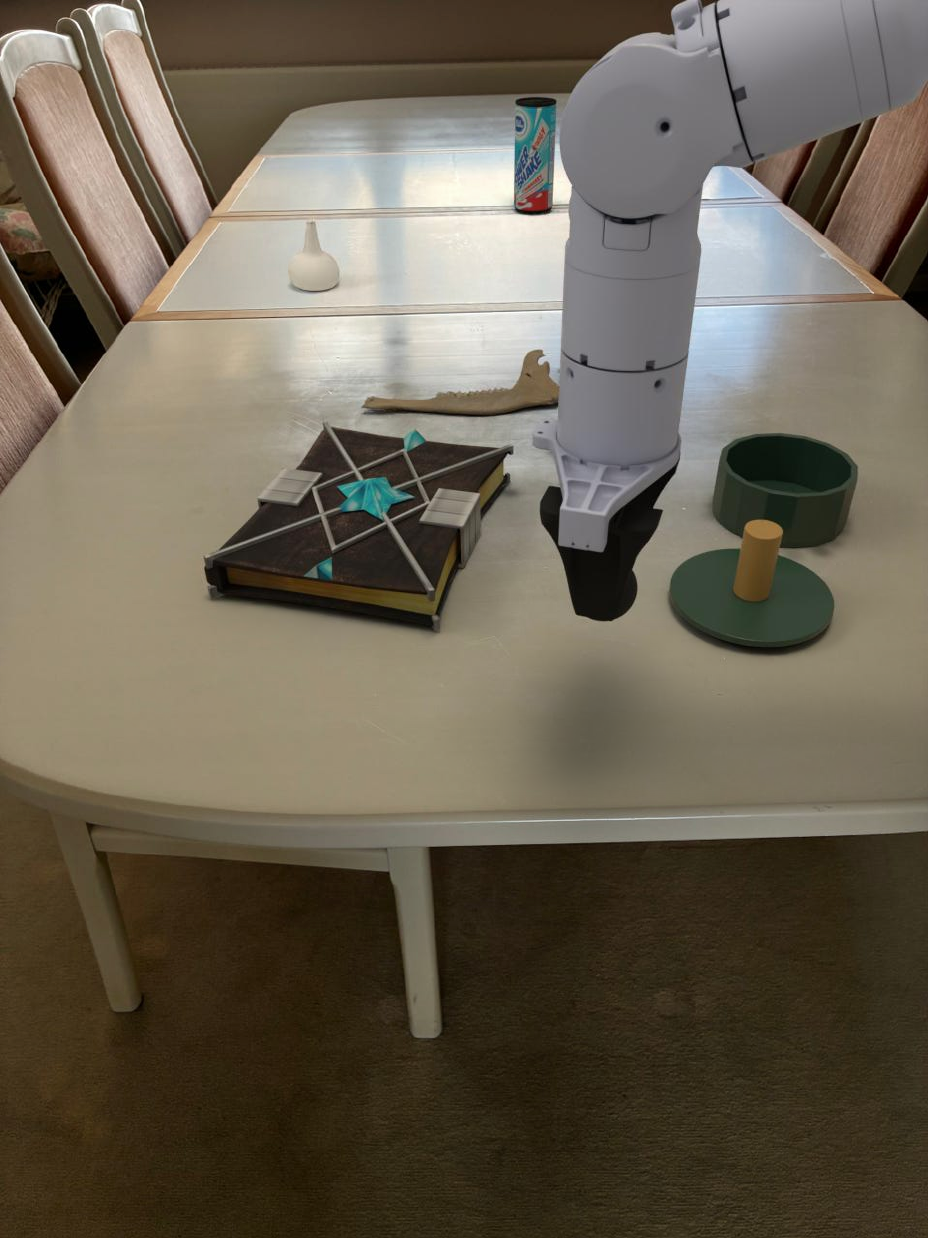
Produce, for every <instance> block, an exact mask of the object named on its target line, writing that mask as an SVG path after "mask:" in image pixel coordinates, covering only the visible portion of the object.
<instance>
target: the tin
mask: <svg viewBox="0 0 928 1238" xmlns="http://www.w3.org/2000/svg"><path fill="white" fill-rule="evenodd" d="M858 479H859V466H858V464H857V463H856V462H855V461H854V460H853V458H852V457H851V456H850V455H849V454H848V453H846V452H845V451H844V450H842V449H840V448H838V447H837V446H834V445H833V444H831V443H829V442H826V441H823V440H819V439H816V438H812V437H809V436H806V435H799V434H792V433H785V432H769V433H753V434H749V435H746V436H743V437H742V436H741V437H739V438H738V437H737V438H735V439H733V440H731V442H729V443H728V444H726V445H725V446H724V447H722V448H721V452H720V456H719V460H718V466H717V472H716V478H715V485H714V491H713V496H712V503H711V504H712V506H711V507H712V513H713V515H714V518H715V519H716V520H717V521H718V522H719V523H720V525H721V526H722V527H724V528H725V529H726V530H728V531H729V532H731V533H733V534H735V535H736V536H738V537H740V538H743V533H744V528H745V525H746V524H747V523H748V522H750V521H753V520H768V521H771V522H774V523H776V524H778V525H779V526H780V527H781V528H782V530H783V535H782V539H781V544H780V548H793V549H795V548H807V547H815V546H819V545H822V544H826V543H828V542H830V541H832V540H834V539H835V538H836V537H838V536H839V535H840V534H841V533H842V531H843V529H844V527H846V524H847V521H848V517H849V513H850V509H851V506H852V502H853V498H854V495H855V490H856V486H857V483H858Z"/></svg>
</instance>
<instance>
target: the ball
mask: <svg viewBox="0 0 928 1238" xmlns="http://www.w3.org/2000/svg"><path fill="white" fill-rule="evenodd" d="M637 594H638V579H637V576H636V574H635V572H634V569H631V572H630V575H629V579H628V582H627V586H626V589H625V593H624V596H623V599H622V602H621V605H620V607H619V610H618V612H617V614H616V616H615V618H614V620H613V621H615V620H618V619H619V618H621V617H623V616H625V615H626V614H627V613H628V612H629V611H630V609H631V608H632V607H633V605H634V603H635V601H636V599H637ZM586 618H588V619H589V620H592V621H595V622H606V621H605V620H600V619H594V618H589V617H586Z"/></svg>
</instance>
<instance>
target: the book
mask: <svg viewBox="0 0 928 1238" xmlns="http://www.w3.org/2000/svg"><path fill="white" fill-rule="evenodd" d="M322 428H323V430H321V432H320V433H319V435H318V436H317V438H316V439H315V441H314V442H313V444H312V445H311V447H310V448H309V450H308V452H306V454H305V456H304V457H303V459H302V461H301V463H300V464H299V465H298V466H296V468H295V469H294V468H286V467H285V468H284V467H283V468H282V470H280V472H279V473H278V474H277V475H276V476H275V477H274V478H273V480H272V481H270V483H269V484H267V486H266V487H265V488H264V490H263V491H262V492H261V493H260V494H259V495H258V496H257V505H258V506H257V507H258V509H257V510H256V511H255V513H254V514H252V516H251V517H250V518H248V520H247V521H246V522H245V523H244V524H243V525H242V526H240V528H239V529H238V530H237V531H236V532H235V533H233V535H232V536H231V537H230V538H229V539H228V540H227V541H226V542H224V544H223V545H221V546H220V548H219V549H218V550H216V551H213V552H210V553H208V554H205V555H202V556H203V561H204V567H203V569H204V575H205V580H206V582H207V584H208V585H207V591H208V592H207V593H208V596H209V598H210V599H211V600H214V599H216V598H219V597H221V596H223V595H229V596H239V597H249V598H257V599H265V600H266V599H267V600H274V601H275V600H276V601H282V602H283V601H284V602H290V603H298V604H304V605H310V606H316V607H324V608H329V609H336V610H342V611H349V612H354V613H355V612H356V613H361V614H367V615H373V616H379V617H385V618H390V619H394V620H400V621H405V622H410V623H415V624H420V625H427V626H431V627H432V629H433V630H434V631H435V632H436V631H441V621H440V620H441V619H440V614H441V611H442V609H443V605H444V603H445V600H446V598H447V594H448V591H449V589H450V586H451V582H452V580H453V578H454V576H455V574H456V572H457V569H458V568H461V569H465V566H466V565H467V563H468V560H469V558H470V556H471V554H472V552H473V551H474V548H475V546H476V544H477V542H478V540H479V539H480V536H481V534H482V533H481V531H482V530H481V529H482V528H481V522H482V521H481V518H482V516H483V514H484V513H485V511H487V509H488V508H489V507H490V505H491V504H492V502H493V501H494V499H496V497H497V495H498V494H499V493H500V492H501V490H502V489H503V488H504V486H505V485H507V484H511V473H509V472H505V473H504V467H505V465H504V464H505V463H504V462H505V461H504V460H505V459H506V457H507V456H508V455H510V456H512V455H514V445H513V444H512V443H509V444H507V445H504V446H501V447H495V446H484V445H483V446H482V445H469V444H456V443H449V442H446V443H445V442H441V441H431V440H426V438H425V437H424V436H423V435H421V433H420V432H419V431H418V430H417V429H416V428H413V429H412V430H411V431H409V433H408V434H406V435H405V436H404V437H400V436H399V437H398V436H390V435H384V434H383V435H381V434H376V433H372V432H371V433H370V432H366V431H358V430H353V429H347V428H342V427H337V426H336V427H335V426H331V425H330V424H329V422H328V421H322Z"/></svg>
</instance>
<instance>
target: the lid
mask: <svg viewBox="0 0 928 1238" xmlns="http://www.w3.org/2000/svg"><path fill="white" fill-rule="evenodd" d="M782 535H783V530H782V528H781V527H780V526H779V525H778V524H776V523H774V522H771V521H768V520H753V521H750V522H748V523H747V524H746V525H745V528H744V533H743V537H742V539H741V544H740V548H721V549H714V550H708V551H705V552H702V553H699V554H698V553H697V554H696V555H693V556H692V557H690V558H688V559H685V561H683V562H682V563H681V564H680V565H679V566H677V567H676V569H675V570H674V571H673V573H672V575H671V578H670V582H669V597H670V601H671V602H672V606H673V607H674V609H675V610H676V611H677V612H678V614H679V615H680V617H682V618H683V619H684V620H685V621H686V622H687V623H688V624H690V625H691V626H693V627H694V628H696V629H697V630H699V631H701V632H703V633H705V634H707V635H709V636H711V637H714V638H716V639H719V640H722V641H725V642H728V643H731V644H737V645H742V646H747V647H757V648H779V647H788V646H794V645H798V644H801V643H805V642H807V641H809V640H812V639H813V638H816V636H818V635H820V634H821V633H822V632H823V631H824V630H826V628H827V627H828V626H829V625H830V623H831V621H832V619H833V615H834V612H835V599H834V595H833V593H832V591H831V589H830V588H829V586H828V585H827V583H826V582H825V581H824V580H823V578H821V577H820V576H819V575H818V574H817V573H815V571H813V570H812V569H810V568H808V567H807V566H805V565H803V564H801V563H800V562H797V561H795V560H793V559H791V558H788V557H785V556H782V555H779V553H780V548H781V547H780V544H781V539H782Z"/></svg>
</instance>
